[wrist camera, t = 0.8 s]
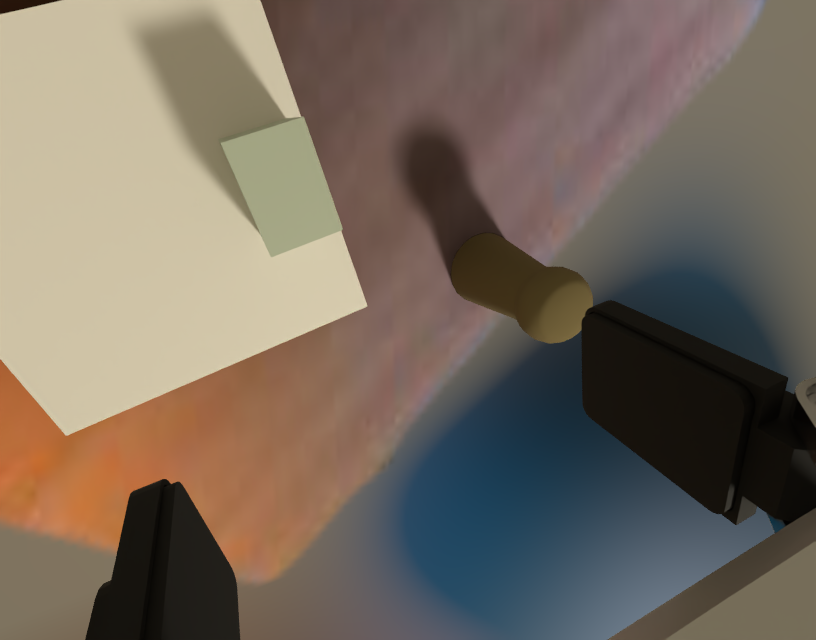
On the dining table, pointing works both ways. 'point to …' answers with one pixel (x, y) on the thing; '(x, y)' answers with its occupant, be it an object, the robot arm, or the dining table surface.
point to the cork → (521, 287)
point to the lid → (154, 202)
